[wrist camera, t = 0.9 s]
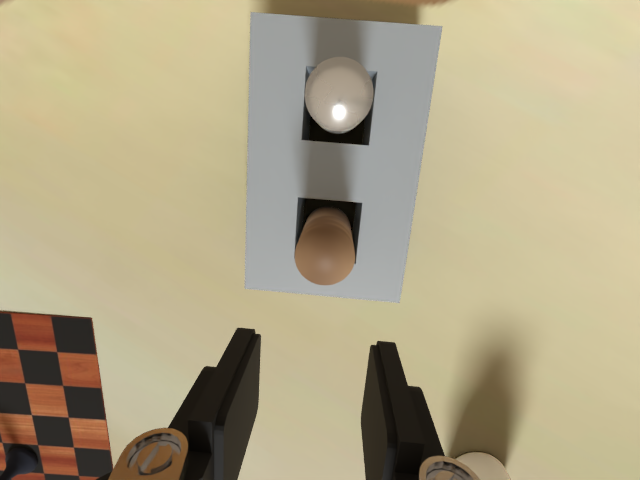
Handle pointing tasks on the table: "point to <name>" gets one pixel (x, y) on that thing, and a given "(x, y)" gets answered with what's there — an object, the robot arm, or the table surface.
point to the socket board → (335, 149)
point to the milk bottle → (484, 466)
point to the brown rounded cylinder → (325, 247)
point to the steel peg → (339, 94)
